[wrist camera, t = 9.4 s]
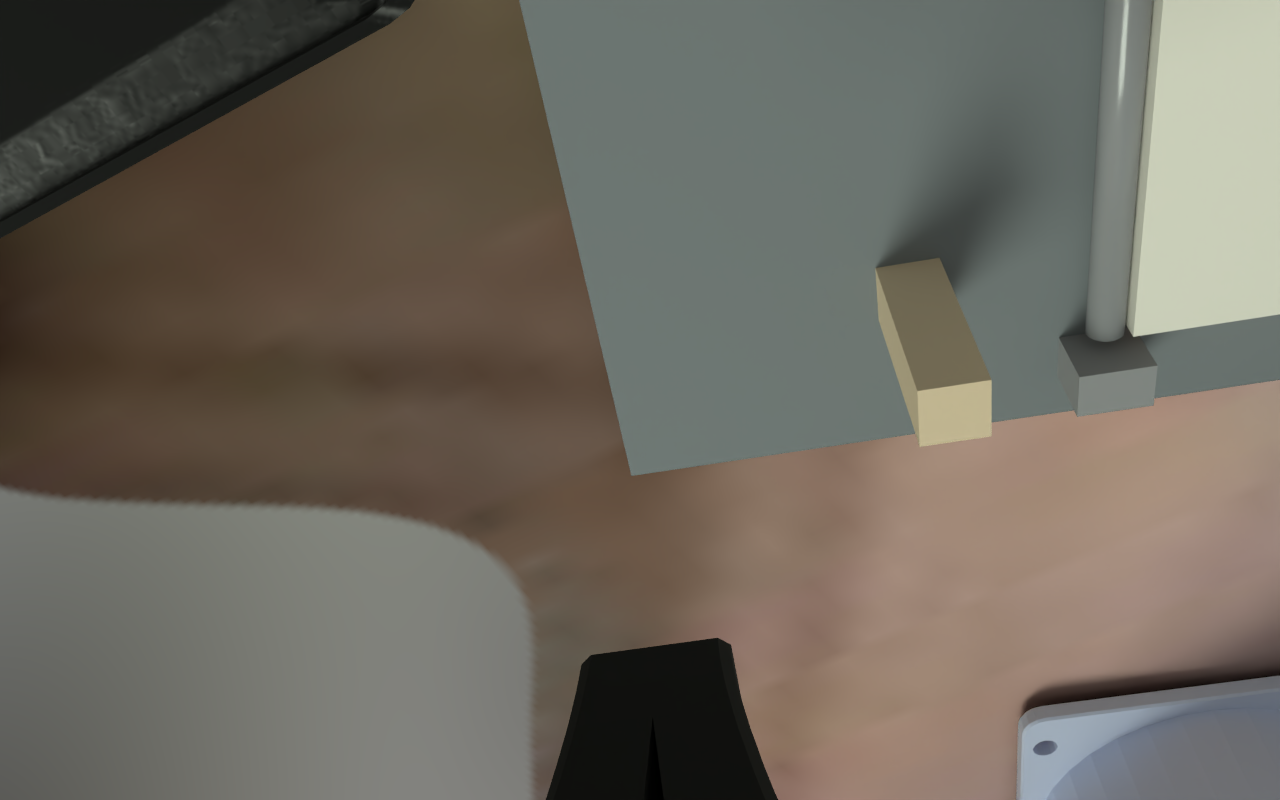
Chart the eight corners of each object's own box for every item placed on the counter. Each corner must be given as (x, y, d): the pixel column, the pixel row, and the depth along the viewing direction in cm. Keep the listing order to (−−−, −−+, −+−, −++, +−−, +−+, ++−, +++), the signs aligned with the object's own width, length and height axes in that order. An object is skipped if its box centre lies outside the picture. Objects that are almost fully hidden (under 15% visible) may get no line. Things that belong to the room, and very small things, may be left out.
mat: (1558, 315, 21) (1720, 459, 18) (631, 454, 22) (635, 610, 19) (1999, -970, 12) (2482, -1119, 9) (384, -603, 13) (320, -621, 10)
